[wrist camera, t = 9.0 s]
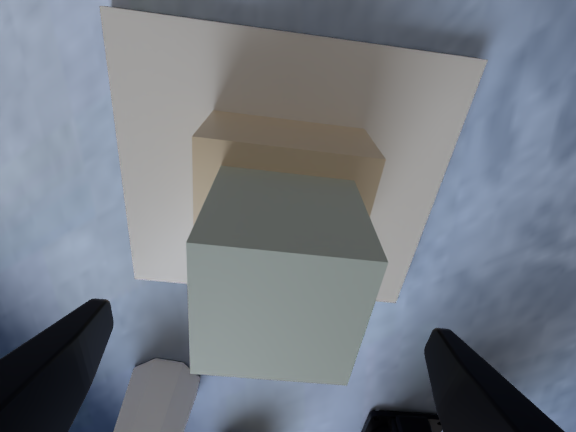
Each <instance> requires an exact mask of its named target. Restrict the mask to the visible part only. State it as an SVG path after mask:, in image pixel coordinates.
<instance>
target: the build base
mask: <svg viewBox="0 0 576 432" xmlns="http://www.w3.org/2000/svg"><path fill="white" fill-rule="evenodd" d="M100 13H101V21H102V29H103V37H104V44H105V52H106V60H107V67H108V75H109V83H110V91H111V98H112V106H113V114H114V122H115V129H116V137H117V145H118V153H119V160H120V168H121V176H122V184H123V191H124V199H125V207H126V214H127V222H128V230H129V238H130V245H131V253H132V261H133V269H134V276H135V279H139V280H150V281H160V282H171V283H182V284H187V255H186V242H187V239H188V237H189V235H190V233H191V231H192V228H193V226H194V224H195V222H196V220H197V217H198V215H199V213H200V211H201V209H202V206H203V204H204V202H205V200H206V197H207V195H208V193H209V191H210V189H211V186H212V184H213V182H214V180H215V178H216V175H217V173H218V171H219V169H220V167H221V166H230V167H239V168H247V169H256V170H265V171H274V172H283V173H292V174H300V175H309V176H318V177H327V178H336V179H344V180H353V181H355V183H356V186H357V188H358V191H359V193H360V195H361V198H362V200H363V203H364V205H365V207H366V210H367V212H368V215H369V217H370V219H371V222H372V224H373V227H374V229H375V231H376V234H377V236H378V239H379V241H380V243H381V246H382V248H383V251H384V253H385V255H386V258H387V260H388V265H387V268H386V271H385V274H384V277H383V280H382V283H381V286H380V289H379V292H378V295H377V298H376V301H379V302H390V303H396V301H397V298H398V296H399V293H400V290H401V288H402V285H403V283H404V280H405V277H406V275H407V272H408V269H409V267H410V264H411V261H412V259H413V256H414V253H415V251H416V248H417V246H418V243H419V240H420V238H421V235H422V232H423V230H424V227H425V224H426V222H427V219H428V217H429V214H430V211H431V209H432V206H433V203H434V201H435V198H436V195H437V193H438V190H439V187H440V185H441V182H442V180H443V177H444V174H445V172H446V169H447V166H448V164H449V161H450V158H451V156H452V153H453V151H454V148H455V145H456V143H457V140H458V137H459V135H460V132H461V129H462V127H463V124H464V122H465V119H466V116H467V114H468V111H469V108H470V106H471V103H472V100H473V98H474V95H475V92H476V90H477V87H478V85H479V82H480V79H481V77H482V74H483V71H484V69H485V66H486V63H487V61H488V60H485V59H480V58H474V57H467V56H460V55H453V54H445V53H438V52H431V51H424V50H417V49H410V48H403V47H395V46H388V45H381V44H374V43H367V42H360V41H353V40H345V39H338V38H331V37H324V36H317V35H310V34H302V33H295V32H288V31H281V30H274V29H267V28H260V27H252V26H245V25H238V24H231V23H224V22H217V21H210V20H202V19H195V18H188V17H181V16H174V15H167V14H160V13H152V12H145V11H138V10H131V9H124V8H117V7H108V6H100Z"/></svg>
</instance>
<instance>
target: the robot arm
mask: <svg viewBox="0 0 576 432" xmlns="http://www.w3.org/2000/svg"><path fill="white" fill-rule="evenodd" d="M112 329H113V316H112V310H111V305H110V302H109V301H108V300H106V299H91V300H89V301H88V302H86V303H84V304H83V305H81V306H80V307H78V308H77V309H75V310H74V311H72V312H71V313H69V314H68V315H66V316H65V317H63V318H62V319H60V320H59V321H57V322H56V323H54V324H53V325H51V326H50V327H48V328H47V329H45V330H44V331H42V332H41V333H39V334H38V335H36V336H35V337H33V338H32V339H30V340H28V341H27V342H25V343H24V344H22V345H21V346H19V347H18V348H16V349H15V350H13V351H12V352H10V353H9V354H7V355H6V356H4V357H3V358H1V359H0V432H68V431H69V429H70V427H71V425H72V423H73V421H74V419H75V417H76V415H77V413H78V411H79V409H80V407H81V405H82V403H83V401H84V399H85V397H86V395H87V393H88V391H89V389H90V386H91V384H92V382H93V379H94V377H95V374H96V372H97V369H98V366H99V364H100V361H101V358H102V356H103V353H104V350H105V348H106V345H107V343H108V340H109V337H110V335H111V332H112ZM424 354H425V360H426V364H427V369H428V374H429V378H430V383H431V388H432V393H433V397H434V402H435V406H436V410H437V413H438V415H431V414H417V413H403V412H389V411H372V412H370V414H369V416H368V419H367V421H366V423H365V426H364V428H363V430H362V432H441V431H442V429H443V432H564V431H563V430H562V429H561V428H560V427H559V426H558V425H557V424H555V423H554V422H553V421H552V420H551V419H550V418H549V417H548V416H546V415H545V414H544V413H543V412H542V411H541V410H540V409H539V408H538V407H536V406H535V405H534V404H533V403H532V402H531V401H530V400H529V399H527V398H526V397H525V396H524V395H523V394H522V393H521V392H520V391H519V390H517V389H516V388H515V387H514V386H513V385H512V384H511V383H510V382H508V381H507V380H506V379H505V378H504V377H503V376H502V375H501V374H499V373H498V372H497V371H496V370H495V369H494V368H493V367H492V366H491V365H489V364H488V363H487V362H486V361H485V360H484V359H483V358H482V357H480V356H479V355H478V354H477V353H476V352H475V351H474V350H473V349H472V348H470V347H469V346H468V345H467V344H466V343H465V342H464V341H463V340H461V339H460V338H459V337H458V336H457V335H456V334H455V333H454V332H452V331H451V330H450V329H444V328H435V329H434V330H433V331H432V333H431V335H430V337H429V339H428V341H427V343H426V346H425V349H424Z"/></svg>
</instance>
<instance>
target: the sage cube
mask: <svg viewBox="0 0 576 432" xmlns="http://www.w3.org/2000/svg"><path fill="white" fill-rule="evenodd" d="M186 255H187V288H188V320H189V353H190V374H199V375H213V376H226V377H239V378H253V379H266V380H279V381H293V382H306V383H319V384H332V385H346V386H347V384H348V381H349V378H350V375H351V372H352V369H353V366H354V363H355V360H356V357H357V354H358V351H359V348H360V345H361V343H362V340H363V337H364V334H365V331H366V328H367V325H368V322H369V319H370V316H371V313H372V310H373V307H374V304H375V301H376V298H377V295H378V292H379V289H380V286H381V283H382V280H383V277H384V274H385V271H386V268H387V265H388V260H387V258H386V255H385V253H384V251H383V248H382V246H381V243H380V241H379V239H378V236H377V234H376V231H375V229H374V227H373V224H372V222H371V219H370V217H369V215H368V212H367V210H366V207H365V205H364V203H363V200H362V198H361V195H360V193H359V191H358V188H357V186H356V183H355V181H353V180H344V179H336V178H327V177H318V176H309V175H300V174H292V173H283V172H274V171H265V170H256V169H247V168H239V167H230V166H221V167H220V169H219V171H218V173H217V175H216V178H215V180H214V182H213V184H212V186H211V189H210V191H209V193H208V195H207V197H206V200H205V202H204V204H203V206H202V209H201V211H200V213H199V215H198V217H197V220H196V222H195V224H194V226H193V228H192V231H191V233H190V235H189V237H188V239H187V242H186Z"/></svg>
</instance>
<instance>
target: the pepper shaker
mask: <svg viewBox="0 0 576 432" xmlns="http://www.w3.org/2000/svg"><path fill="white" fill-rule="evenodd" d="M199 382H200V377H199V376H198V375H197V374H190V368H189V367H188V366H187V365H185V364H184V363H183V362H178V361H171V360H165V359H159V358H155V359H153V360H150V361H148V362H146V363H143V364H141V365H139V366H136V367H135V368H134V369H133V372H132V375H131V378H130V382H129V385H128V388H127V391H126V394H125V397H124V400H123V404H122V407H121V410H120V413H119V416H118V419H117V423H116V426H115V429H114V432H184V429H185V427H186V424H187V421H188V418H189V415H190V412H191V409H192V407H193V404H194V401H195V398H196V395H197V391H198V386H199Z"/></svg>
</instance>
